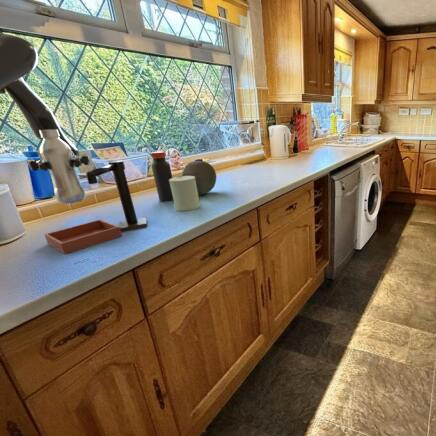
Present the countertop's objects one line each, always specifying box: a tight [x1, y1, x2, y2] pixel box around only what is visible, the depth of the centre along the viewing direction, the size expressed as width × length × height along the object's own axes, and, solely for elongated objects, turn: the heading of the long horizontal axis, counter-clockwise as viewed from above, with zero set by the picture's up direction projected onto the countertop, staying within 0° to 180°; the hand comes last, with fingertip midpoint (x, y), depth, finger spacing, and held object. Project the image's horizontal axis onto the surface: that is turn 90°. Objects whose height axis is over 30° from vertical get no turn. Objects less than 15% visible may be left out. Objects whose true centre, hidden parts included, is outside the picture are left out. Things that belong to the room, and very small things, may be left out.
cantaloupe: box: [181, 160, 217, 196], centre depth 133 cm, size 14×14×15 cm
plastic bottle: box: [39, 129, 86, 205], centre depth 82 cm, size 6×7×20 cm
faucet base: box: [112, 170, 148, 232], centre depth 97 cm, size 8×7×19 cm
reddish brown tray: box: [44, 219, 123, 255], centre depth 89 cm, size 14×13×3 cm
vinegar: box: [150, 151, 174, 202], centre depth 126 cm, size 7×7×20 cm
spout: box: [85, 160, 126, 185], centre depth 87 cm, size 16×4×4 cm, turn 8°
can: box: [169, 175, 201, 212], centre depth 116 cm, size 9×9×12 cm
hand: (60, 165), depth 80 cm, fingers closed on plastic bottle, 6 cm apart
